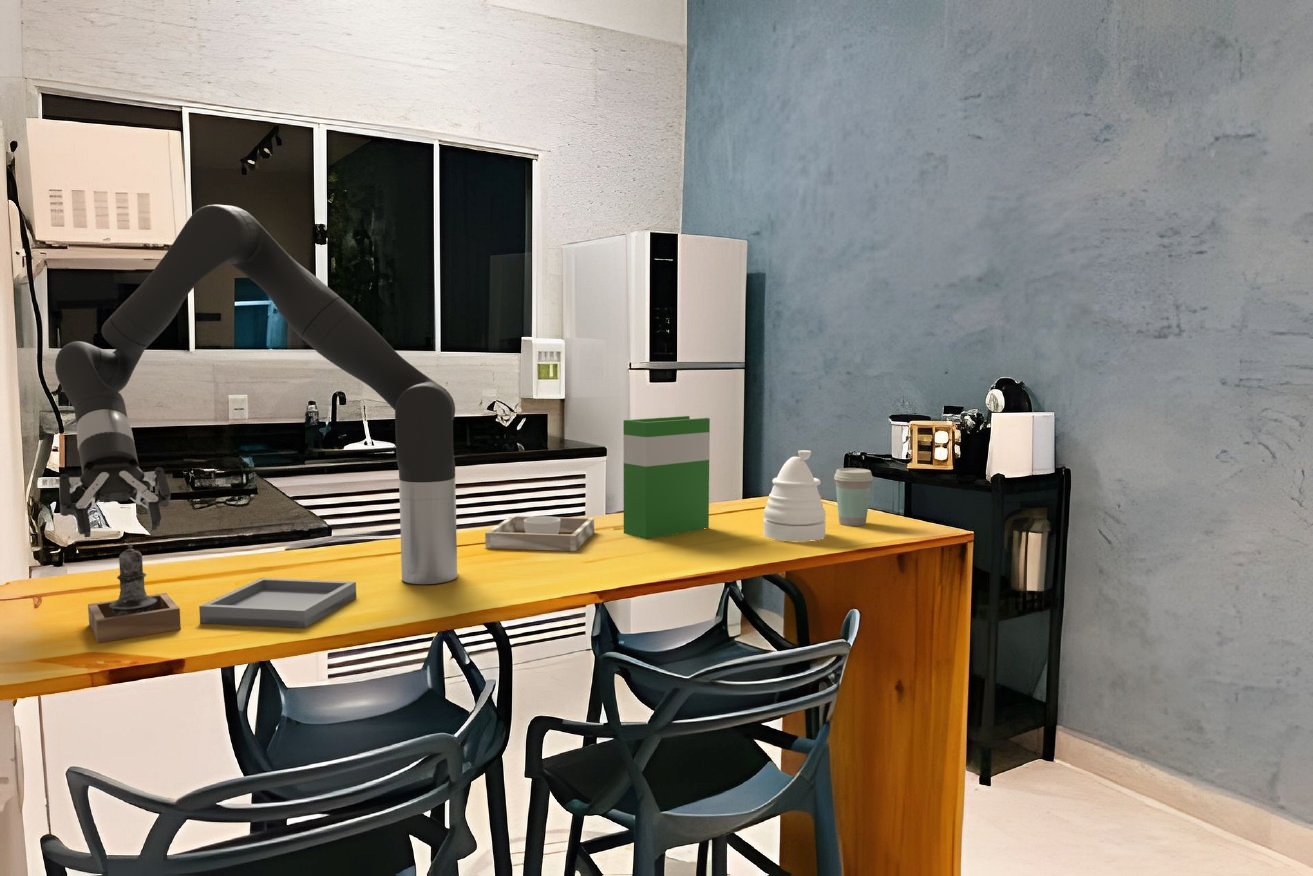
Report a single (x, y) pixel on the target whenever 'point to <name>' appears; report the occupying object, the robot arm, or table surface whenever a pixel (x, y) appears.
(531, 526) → the light grey bowl
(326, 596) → the tray
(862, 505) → the coffee cup
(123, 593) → the grey stone finial
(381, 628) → the table surface
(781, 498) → the honey pot
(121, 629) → the collar
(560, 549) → the grey wooden tray
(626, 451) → the green cereal box
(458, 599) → the table surface
